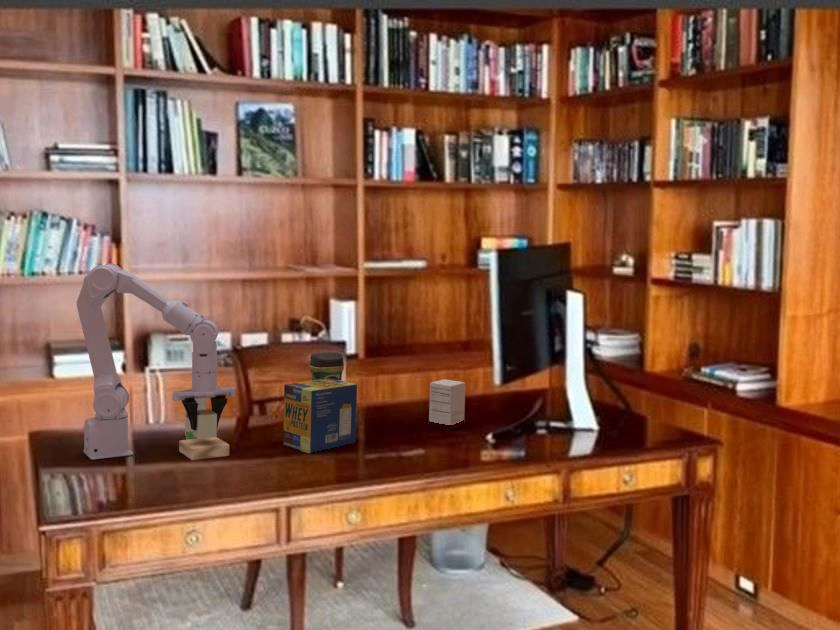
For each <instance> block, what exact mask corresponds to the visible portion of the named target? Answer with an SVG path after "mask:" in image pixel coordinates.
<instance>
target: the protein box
mask: <svg viewBox="0 0 840 630" xmlns="http://www.w3.org/2000/svg"><path fill="white" fill-rule="evenodd" d="M283 387H284V389H283V391H284V393H283V446H285V447H287V448H291V449H293V450H297V451H300V452H303V453H307V454H309V453H310V454H314V453H313V452H315V453H318V452H317V451H320V452H322V451H321V450H325V449H329V450H331V449H330V448H334V447H338V448H340V447H339V446H343V445H346V444H350V443H353V442H355V443H356V439H357V436H356V435H357V433H356V432H357V405H358V404H357V401H358V400H357V398H358V395H357V394H358V384H357V383H353V382H349V381H345V380H344V381H343V380H342V379H341V380H337V379H332V378H326V379H320V380H313V381H312V380H308V381H307V380H306V381H299V382H294V383H286V384H284V385H283ZM343 447H344V446H343ZM334 449H335V448H334ZM325 451H326V450H325Z"/></svg>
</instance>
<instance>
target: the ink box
mask: <svg viewBox="0 0 840 630" xmlns="http://www.w3.org/2000/svg"><path fill="white" fill-rule="evenodd" d="M195 400H196V402H197V403H198V409H197V410H206V409H207V398H200V399H195ZM184 436H186V437H185V440H189V439H198V438H196V437H195V436H194V435H193V430H192V429H191V426H190V421H189V417H188V414H187V412H186V409H185V408H184Z"/></svg>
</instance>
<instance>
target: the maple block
mask: <svg viewBox="0 0 840 630" xmlns="http://www.w3.org/2000/svg"><path fill="white" fill-rule="evenodd" d="M178 445H179V446H178V449H179V451H178V452H180V453H181V454H183V455H184V456H186V457H187V458H188V459H190V460H191V461H196V460H204V459H210V458H219V457H220V458H221V457H228V456H230V444H229V443H227V442H226V441H224V440H223V439H221V438H219V437H213V438H202V439H189V440H186V439H182V440H179V441H178Z"/></svg>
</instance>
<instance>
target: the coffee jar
mask: <svg viewBox="0 0 840 630" xmlns="http://www.w3.org/2000/svg"><path fill="white" fill-rule="evenodd" d="M309 359H310V360H309V370H310V373H311V381H313V380H320V379H326V378H332V379H337V380H341V381H342V374H343V372H344V370H345V369H344V368H345V363H344V356H343V354H342V353H340V352H333V351H332V352H318V353H317V352H315V353H311V355H310V358H309Z"/></svg>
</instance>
